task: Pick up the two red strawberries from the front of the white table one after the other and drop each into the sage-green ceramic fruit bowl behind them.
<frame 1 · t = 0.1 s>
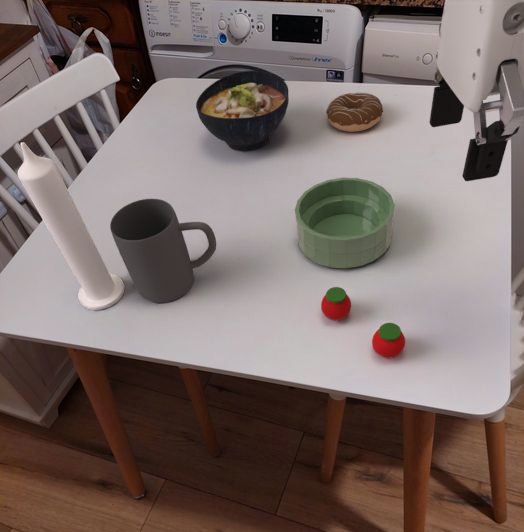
hand: (461, 149, 51), 23 cm above the table, tool pointing down, fingers open, 9 cm apart
donut: (354, 122, 99), on the table
candle: (102, 294, 78), on the table
strawberry b: (336, 315, 70), on the table
bowl: (248, 140, 100), on the table
fruit bowl: (343, 238, 79), on the table
mug: (181, 281, 78), on the table
strawberry a: (387, 351, 65), on the table
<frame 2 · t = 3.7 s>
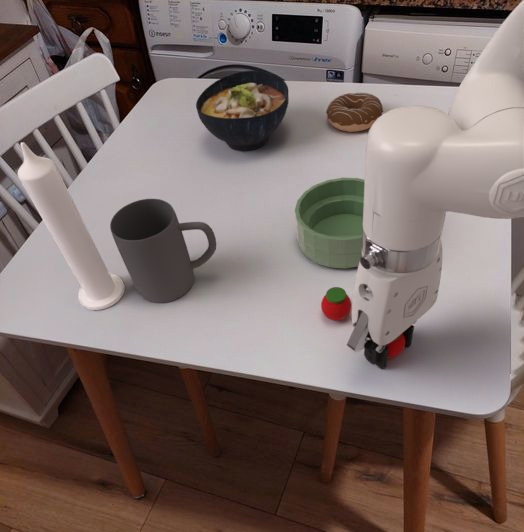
hand: (387, 350, 65), 0 cm above the table, tool pointing down, fingers closed on strawberry a, 3 cm apart
strawberry a: (387, 351, 65), on the table, touching gripper
everything else where it was.
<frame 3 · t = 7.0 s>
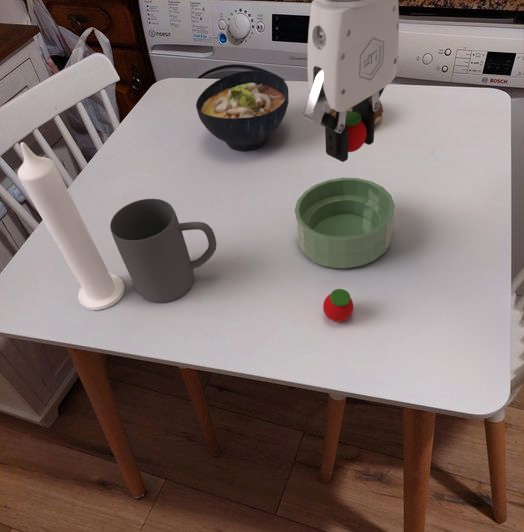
hand: (349, 147, 64), 17 cm above the table, tool pointing down, fingers closed on strawberry a, 3 cm apart
strawberry b: (336, 315, 70), on the table, tilted 10°
strawberry a: (349, 149, 64), point 17 cm above the table, touching gripper
everything else where it was.
when the fingers open (3 cm above the table, at t = 10.6 s): strawberry a drops 2 cm, resting on fruit bowl.
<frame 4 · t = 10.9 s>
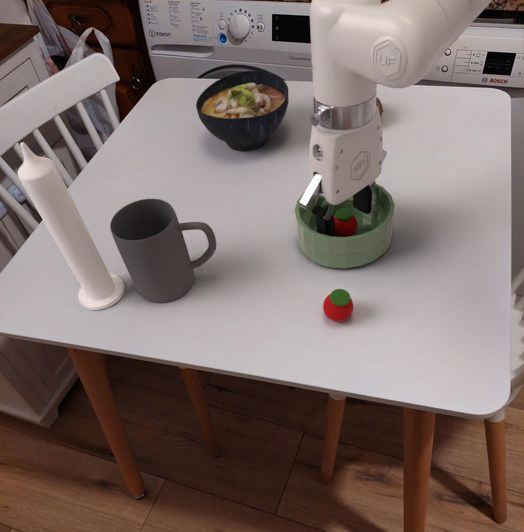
hand: (344, 221, 77), 3 cm above the table, tool pointing down, fingers open, 7 cm apart
strawberry a: (343, 235, 79), point 1 cm above the table, touching fruit bowl
everything else where it was.
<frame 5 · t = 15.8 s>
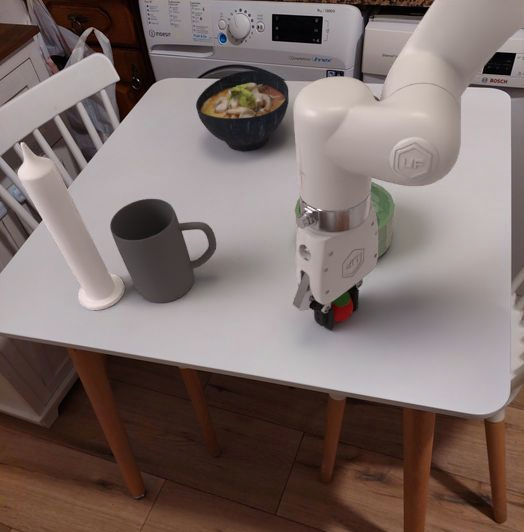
hand: (336, 313, 70), 0 cm above the table, tool pointing down, fingers closed on strawberry b, 3 cm apart
strawberry b: (336, 315, 70), on the table, tilted 10°, touching gripper
everything else where it was.
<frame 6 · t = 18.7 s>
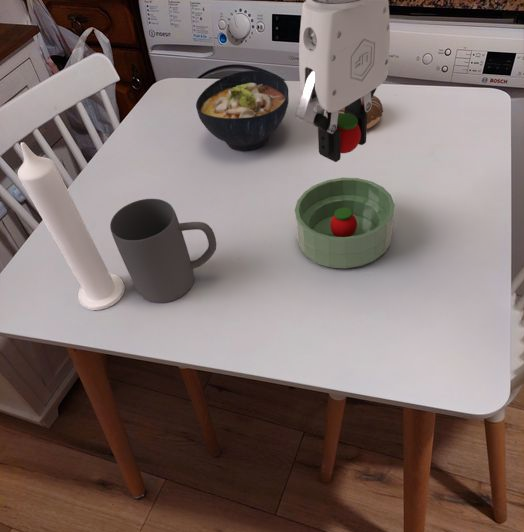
hand: (342, 147, 64), 17 cm above the table, tool pointing down, fingers closed on strawberry b, 3 cm apart
strawberry b: (342, 149, 64), point 17 cm above the table, tilted 10°, touching gripper
everything else where it was.
when the fingers open (5 cm above the table, at t = 21.5 s): strawberry b moves 4 cm and tips over, resting on fruit bowl, strawberry a.
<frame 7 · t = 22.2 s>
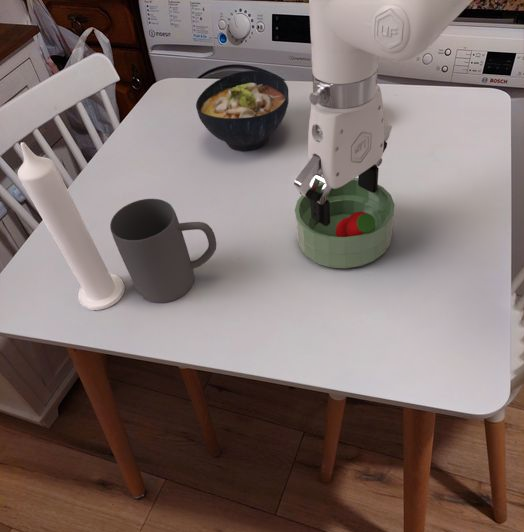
hand: (344, 204, 74), 6 cm above the table, tool pointing down, fingers open, 9 cm apart
strawberry b: (354, 229, 74), point 4 cm above the table, tilted 43°, touching fruit bowl, strawberry a
strawberry a: (344, 233, 78), point 1 cm above the table, tilted 44°, touching fruit bowl, strawberry b
everything else where it was.
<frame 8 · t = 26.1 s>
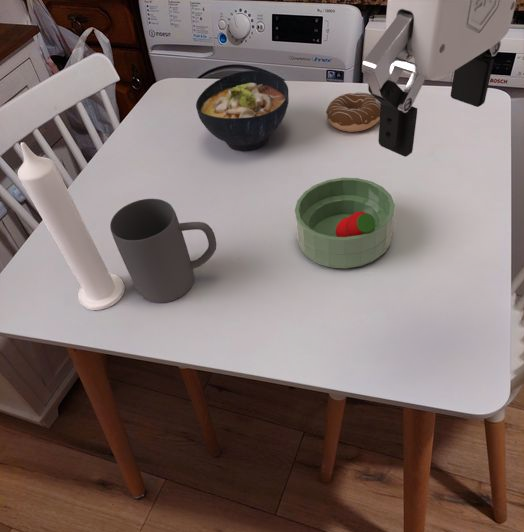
hand: (431, 124, 45), 28 cm above the table, tool pointing down, fingers open, 9 cm apart
nothing on the table moved.
at the end: strawberry a inside the target area in the fruit bowl (0.1 cm from its centre), point 1.2 cm above the fruit bowl's base; strawberry b inside the target area in the fruit bowl (3.1 cm from its centre), point 4.1 cm above the fruit bowl's base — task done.
